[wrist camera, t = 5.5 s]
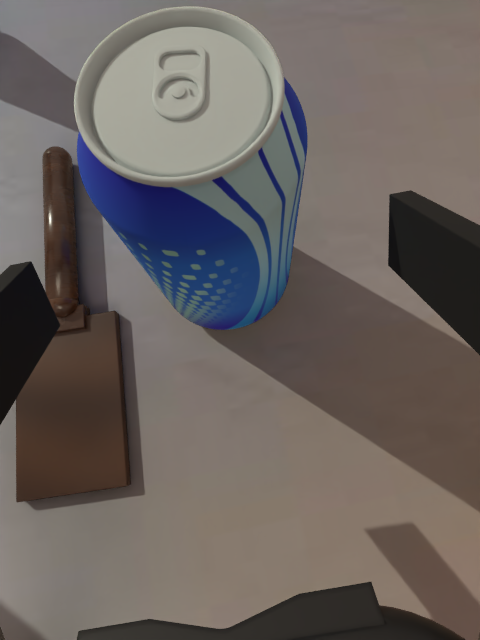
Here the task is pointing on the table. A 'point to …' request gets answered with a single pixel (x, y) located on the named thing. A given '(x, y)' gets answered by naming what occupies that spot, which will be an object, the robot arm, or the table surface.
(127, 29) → the beer can
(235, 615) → the table surface
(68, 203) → the spatula
